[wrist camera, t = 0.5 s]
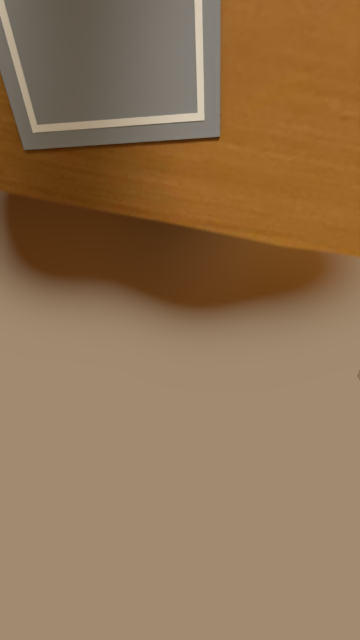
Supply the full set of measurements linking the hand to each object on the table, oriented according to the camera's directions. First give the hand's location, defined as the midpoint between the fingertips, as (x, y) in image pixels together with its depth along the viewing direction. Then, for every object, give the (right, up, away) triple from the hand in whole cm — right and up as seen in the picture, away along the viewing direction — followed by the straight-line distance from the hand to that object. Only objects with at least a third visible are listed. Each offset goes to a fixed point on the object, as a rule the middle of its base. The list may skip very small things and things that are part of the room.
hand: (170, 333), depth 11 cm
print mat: (-6, +25, +15) cm, 30 cm away
